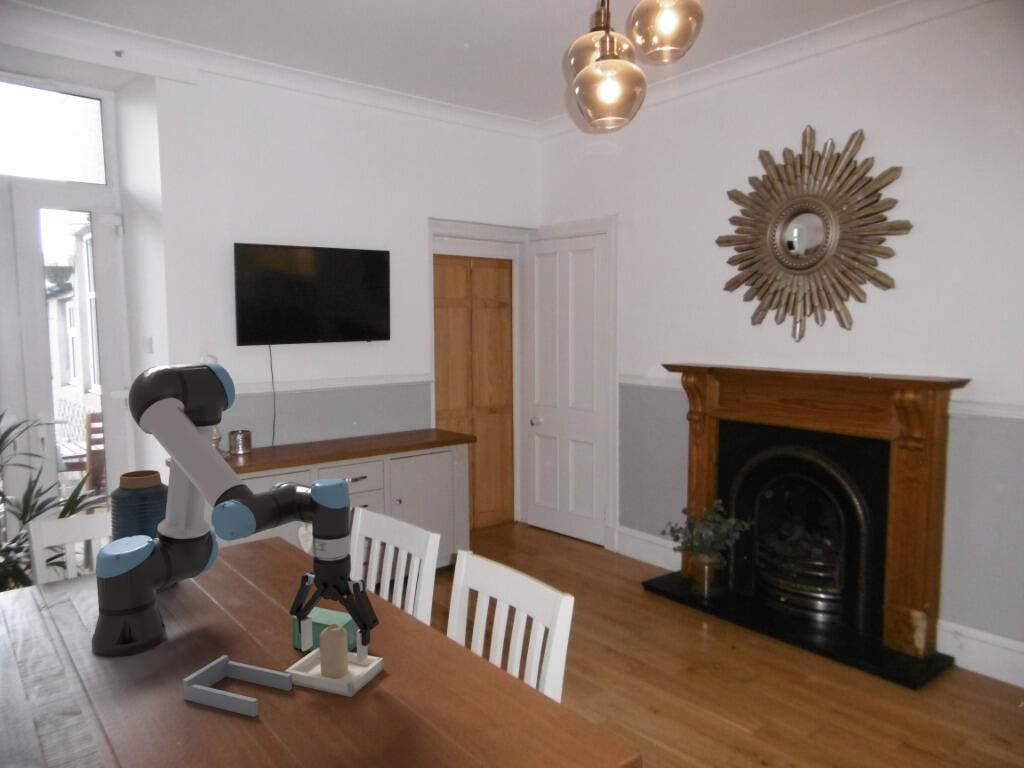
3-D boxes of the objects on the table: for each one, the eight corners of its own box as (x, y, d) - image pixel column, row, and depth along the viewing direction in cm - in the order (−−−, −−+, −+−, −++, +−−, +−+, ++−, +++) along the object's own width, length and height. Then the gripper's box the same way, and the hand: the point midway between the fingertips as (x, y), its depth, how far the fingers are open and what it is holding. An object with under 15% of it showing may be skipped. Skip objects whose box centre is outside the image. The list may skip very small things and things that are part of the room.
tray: (284, 682, 148) (284, 671, 148) (320, 656, 159) (320, 645, 159) (351, 697, 142) (351, 685, 142) (383, 669, 153) (383, 658, 153)
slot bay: (183, 699, 141) (182, 679, 141) (224, 673, 152) (223, 654, 151) (254, 717, 135) (253, 696, 135) (292, 688, 145) (291, 669, 145)
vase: (160, 597, 192) (154, 481, 188) (99, 597, 192) (92, 480, 189) (188, 575, 208) (183, 467, 205) (132, 574, 208) (126, 467, 205)
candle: (323, 666, 153) (322, 621, 152) (349, 665, 153) (348, 620, 152) (318, 680, 148) (317, 633, 147) (346, 678, 148) (344, 632, 147)
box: (342, 659, 158) (342, 626, 157) (292, 649, 163) (291, 617, 162) (361, 645, 165) (360, 613, 164) (312, 635, 170) (311, 605, 169)
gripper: (270, 553, 149) (273, 651, 151) (374, 568, 140) (376, 672, 142) (293, 542, 156) (296, 636, 158) (394, 556, 147) (396, 656, 149)
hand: (334, 654), depth 150 cm, fingers open, 13 cm apart
